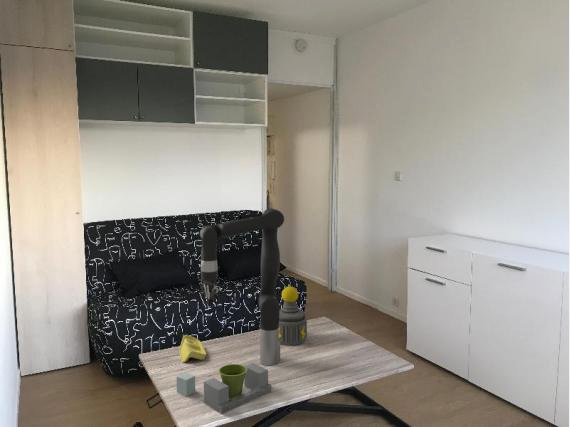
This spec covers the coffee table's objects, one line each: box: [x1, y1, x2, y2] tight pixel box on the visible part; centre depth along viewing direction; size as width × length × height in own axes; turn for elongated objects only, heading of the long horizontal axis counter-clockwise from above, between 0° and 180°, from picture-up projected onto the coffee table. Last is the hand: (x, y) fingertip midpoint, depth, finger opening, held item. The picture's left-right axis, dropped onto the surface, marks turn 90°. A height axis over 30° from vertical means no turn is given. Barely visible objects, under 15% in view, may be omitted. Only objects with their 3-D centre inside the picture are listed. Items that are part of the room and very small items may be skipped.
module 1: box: [175, 371, 196, 397], centre depth 200 cm, size 5×6×7 cm
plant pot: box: [218, 363, 247, 400], centre depth 197 cm, size 12×12×11 cm
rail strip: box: [218, 383, 272, 415], centre depth 192 cm, size 26×2×3 cm, turn 134°
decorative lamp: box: [279, 286, 308, 346], centre depth 259 cm, size 19×19×30 cm
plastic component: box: [179, 334, 207, 363], centre depth 240 cm, size 20×7×10 cm
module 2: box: [203, 377, 230, 413], centre depth 189 cm, size 5×10×9 cm, turn 44°
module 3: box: [243, 362, 269, 390], centre depth 203 cm, size 5×10×9 cm, turn 44°
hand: (210, 306), depth 218 cm, fingers closed
